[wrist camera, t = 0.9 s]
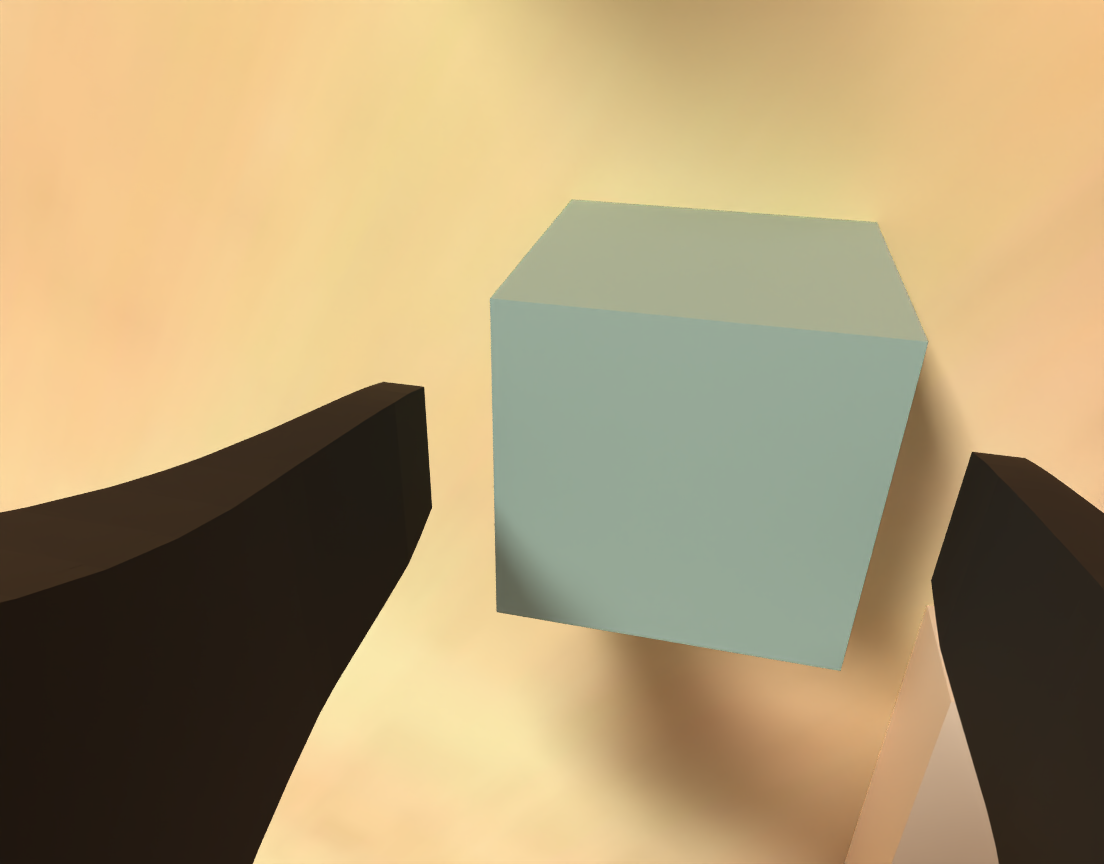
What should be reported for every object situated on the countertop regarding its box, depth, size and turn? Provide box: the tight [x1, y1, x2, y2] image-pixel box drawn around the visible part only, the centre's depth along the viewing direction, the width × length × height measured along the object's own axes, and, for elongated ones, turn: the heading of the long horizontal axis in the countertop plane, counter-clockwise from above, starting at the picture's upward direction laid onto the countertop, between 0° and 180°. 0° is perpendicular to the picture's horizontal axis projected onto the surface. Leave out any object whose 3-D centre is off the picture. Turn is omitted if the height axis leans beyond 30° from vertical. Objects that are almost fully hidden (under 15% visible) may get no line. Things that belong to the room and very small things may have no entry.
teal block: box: [490, 200, 928, 671], centre depth 13 cm, size 5×5×5 cm
